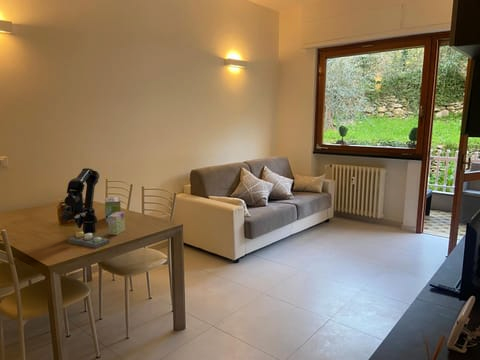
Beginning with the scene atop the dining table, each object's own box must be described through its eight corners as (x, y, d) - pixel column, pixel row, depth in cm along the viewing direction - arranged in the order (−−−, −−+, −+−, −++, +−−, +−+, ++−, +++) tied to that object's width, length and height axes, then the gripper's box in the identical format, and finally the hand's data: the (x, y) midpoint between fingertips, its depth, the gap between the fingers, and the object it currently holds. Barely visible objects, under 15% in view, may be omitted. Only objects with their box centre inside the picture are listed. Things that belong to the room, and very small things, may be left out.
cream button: (88, 237, 207) (88, 232, 207) (94, 238, 205) (93, 233, 205) (83, 239, 203) (82, 234, 203) (88, 240, 202) (87, 235, 201)
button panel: (82, 236, 214) (82, 233, 214) (109, 242, 205) (109, 239, 204) (68, 241, 205) (67, 238, 205) (95, 248, 196) (95, 244, 195)
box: (117, 229, 229) (116, 211, 227) (125, 230, 228) (124, 212, 226) (108, 234, 218) (107, 216, 216) (117, 235, 218) (116, 216, 216)
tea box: (121, 221, 246) (120, 200, 243) (106, 223, 242) (104, 202, 239) (120, 216, 259) (119, 196, 257) (105, 217, 256) (104, 197, 253)
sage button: (97, 241, 204) (97, 236, 204) (103, 242, 203) (103, 237, 202) (92, 243, 201) (91, 238, 200) (97, 245, 199) (97, 240, 198)
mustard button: (80, 235, 210) (80, 230, 210) (85, 236, 208) (85, 231, 208) (74, 237, 206) (73, 233, 206) (79, 239, 205) (79, 234, 204)
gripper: (80, 197, 215) (82, 222, 218) (53, 203, 199) (55, 230, 202) (94, 199, 211) (96, 224, 214) (67, 206, 194) (69, 233, 197)
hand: (79, 228), depth 207 cm, fingers closed
